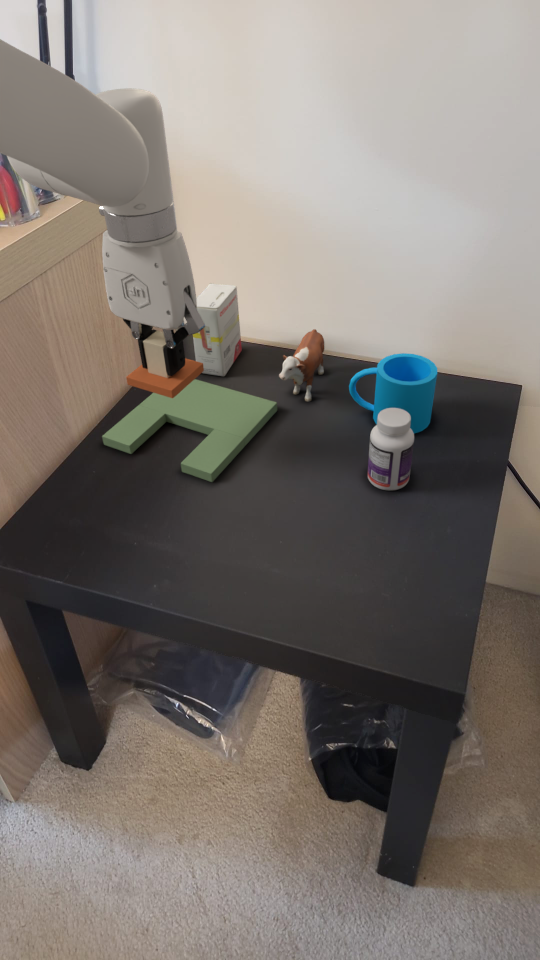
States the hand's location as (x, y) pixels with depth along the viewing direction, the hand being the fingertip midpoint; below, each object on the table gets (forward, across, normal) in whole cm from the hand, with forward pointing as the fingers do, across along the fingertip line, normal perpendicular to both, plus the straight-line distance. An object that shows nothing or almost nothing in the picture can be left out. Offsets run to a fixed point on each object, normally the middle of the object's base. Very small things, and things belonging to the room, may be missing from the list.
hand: (164, 365), depth 86 cm
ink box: (+14, -7, +22) cm, 27 cm away
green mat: (+13, -1, +5) cm, 14 cm away
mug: (+14, +23, +20) cm, 34 cm away
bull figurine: (+14, +9, +21) cm, 27 cm away
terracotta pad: (+2, 0, 0) cm, 2 cm away
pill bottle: (+14, +28, +7) cm, 32 cm away
